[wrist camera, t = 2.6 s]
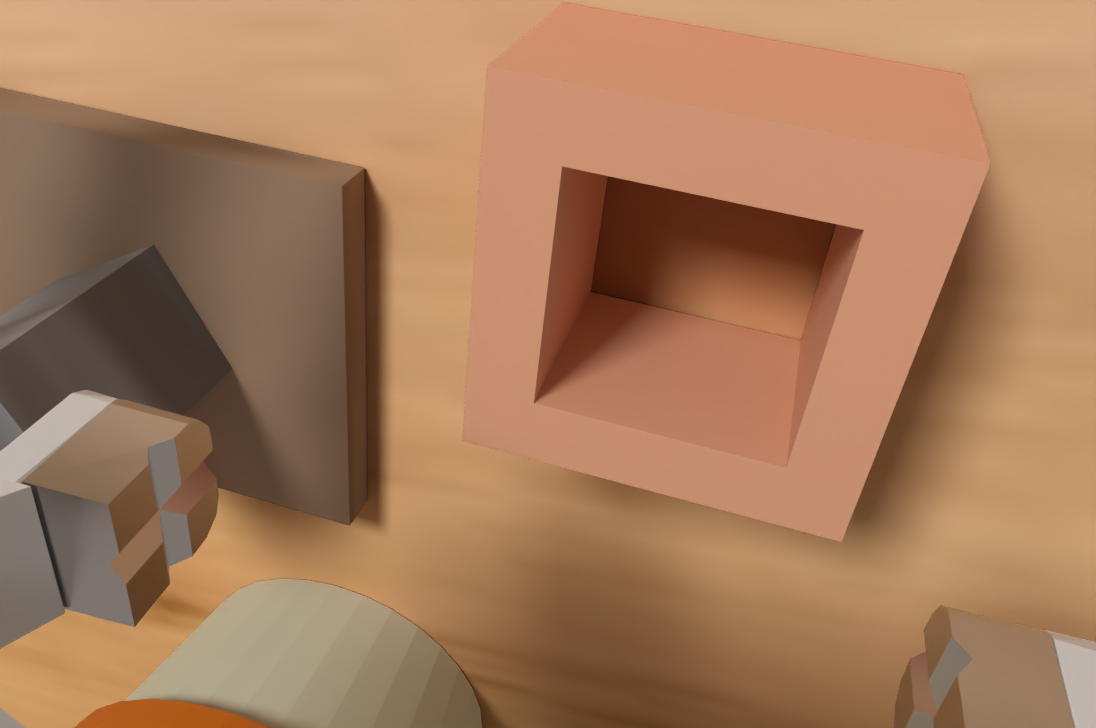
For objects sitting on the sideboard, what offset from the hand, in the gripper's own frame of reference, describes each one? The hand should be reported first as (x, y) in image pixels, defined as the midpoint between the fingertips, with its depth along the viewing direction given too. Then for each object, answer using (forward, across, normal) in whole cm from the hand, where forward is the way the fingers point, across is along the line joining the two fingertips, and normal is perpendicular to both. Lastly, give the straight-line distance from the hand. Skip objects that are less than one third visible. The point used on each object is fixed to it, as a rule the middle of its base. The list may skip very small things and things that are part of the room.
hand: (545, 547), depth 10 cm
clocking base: (+9, +11, +5) cm, 15 cm away
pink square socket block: (+9, -1, 0) cm, 9 cm away
